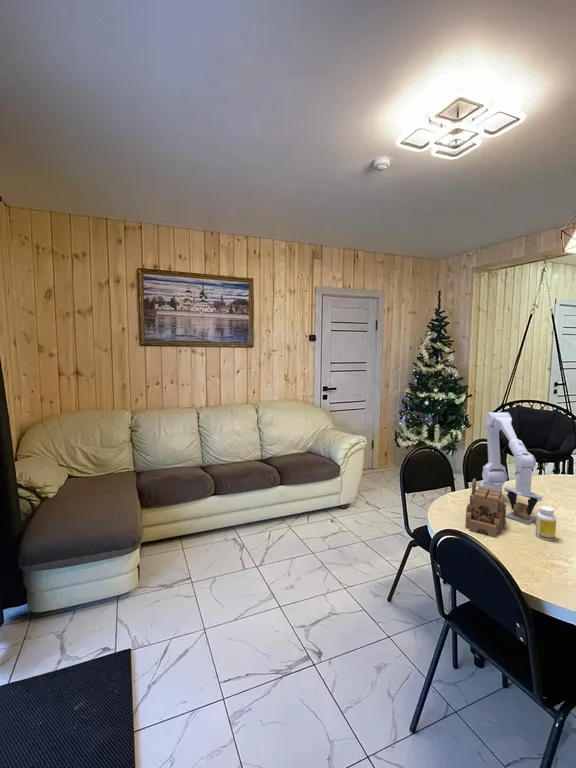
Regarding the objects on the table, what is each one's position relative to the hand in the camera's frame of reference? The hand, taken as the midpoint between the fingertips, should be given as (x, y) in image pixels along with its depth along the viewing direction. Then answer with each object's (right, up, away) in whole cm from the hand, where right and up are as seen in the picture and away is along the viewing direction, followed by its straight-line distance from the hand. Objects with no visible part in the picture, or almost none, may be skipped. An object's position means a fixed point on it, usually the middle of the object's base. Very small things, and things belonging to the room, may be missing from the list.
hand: (521, 511), depth 166 cm
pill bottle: (-1, -4, -17) cm, 17 cm away
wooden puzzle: (-19, -4, -6) cm, 20 cm away
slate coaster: (0, -3, 0) cm, 3 cm away
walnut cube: (0, -2, 0) cm, 2 cm away
